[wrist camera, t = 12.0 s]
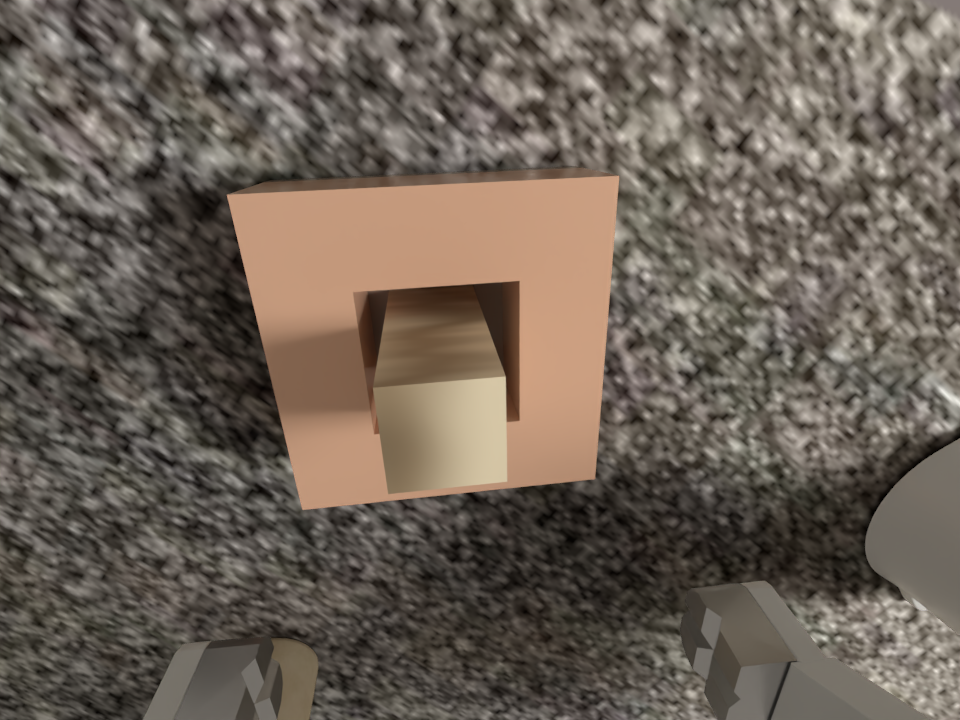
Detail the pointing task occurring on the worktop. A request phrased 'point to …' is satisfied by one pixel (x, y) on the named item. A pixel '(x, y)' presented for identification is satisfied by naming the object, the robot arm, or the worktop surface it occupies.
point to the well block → (423, 264)
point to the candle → (295, 677)
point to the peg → (439, 392)
